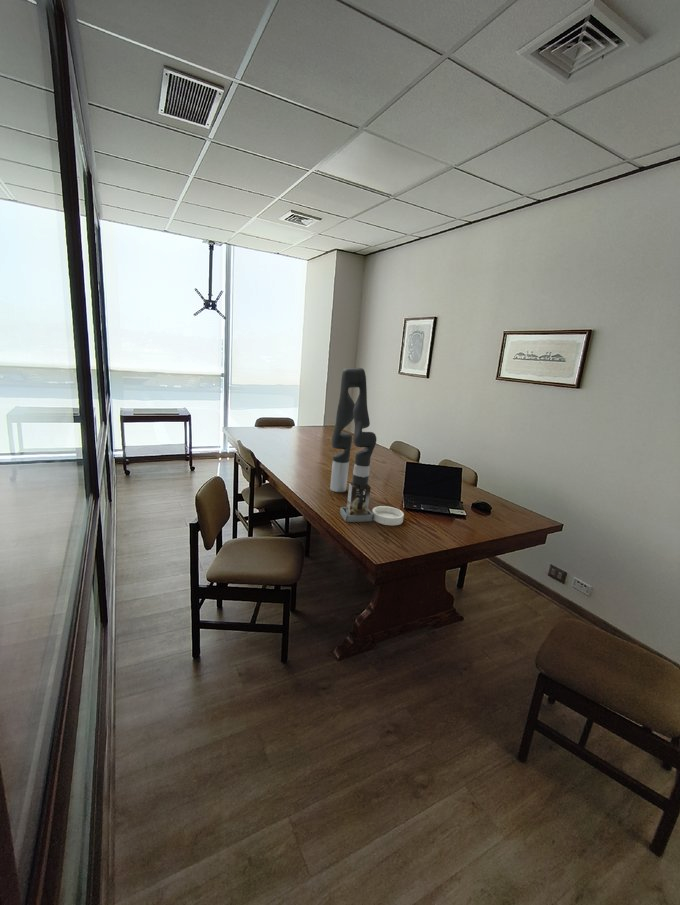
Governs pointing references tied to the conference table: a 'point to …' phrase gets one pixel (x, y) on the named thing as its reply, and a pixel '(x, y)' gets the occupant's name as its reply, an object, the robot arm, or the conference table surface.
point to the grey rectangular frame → (356, 516)
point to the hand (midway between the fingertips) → (357, 506)
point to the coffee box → (356, 500)
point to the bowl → (387, 515)
